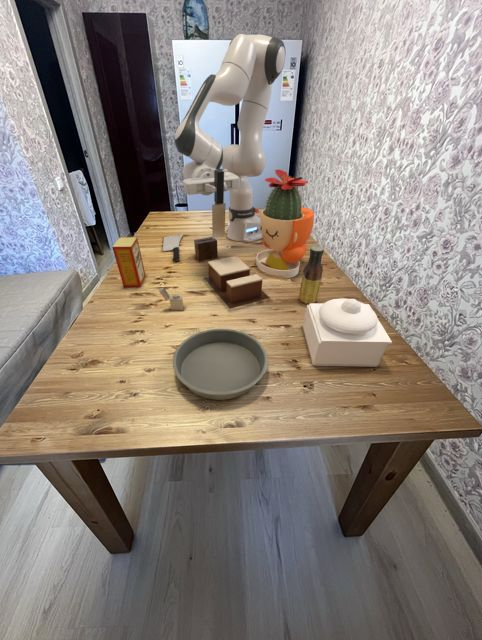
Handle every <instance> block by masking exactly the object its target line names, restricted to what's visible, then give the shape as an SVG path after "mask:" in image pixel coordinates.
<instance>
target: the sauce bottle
mask: <svg viewBox="0 0 482 640" xmlns="http://www.w3.org/2000/svg"><path fill="white" fill-rule="evenodd" d="M324 251H325V248H324V247H323V246H320V245H313V246H311V247H310V249H309V258H308V262H307V263H306V265H305V266H304V268H303V270H302V276H301V281H300V288H299V295H298V300H299V302H300V303H301V304H303V305H309V304H310V303H317V300H318V298H319V297H318V296H319V292H320V287H321V284H322V283H321V282H322V278H323V272H324V267H323V265H322V257H323V255H324Z"/></svg>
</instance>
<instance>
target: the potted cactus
mask: <svg viewBox="0 0 482 640" xmlns="http://www.w3.org/2000/svg"><path fill="white" fill-rule="evenodd" d="M274 173H275V175H276V176H277V177H278V178H279V179H280V180H281V181H280V180H278V179H277V178H276V177H268V178H265V179H264V181H265V182H267V183H269V184H268V187H269V188H271V189H270V192H269V196H268V197H267V199H266V200H265V201H264V202H265V205H264V209H263V210H262V211H261V215H260V219H261V220H260V230H261V233H262V237H263V238H262V239H263V240H262V245H263V246H264V247H265V248H267V249H265V250H261V251H260V252H258V253H257V254H256V257H255V264H256V267H257V268H258V269H259V270H260V271H263V272H264V273H266V274H269V275H272V276H277V277H283V279H292V278H294V277H296V276H297V275H298V274H299V270H300V266H301V265H300V264H301V262H300V261H301V260H302V259H303V258H304V256H305V254H306V252H307V250H308V249H307V248H308V245H307V242H308V240H309V238H310V237H311V235H312V231H313V228H314V223H315V214H314V213H315V212H314V211H313V210H312V209H311V208H307V207H304V205H303V203H304V200H303V198H302V197H301V196H302V193H301V190H299V188H298V187H305V186H306V184H308V183H309V181H307V180H304V177H302V176H299V177H296V178H295V177H294V176H293V177H291V175H288V172H287V171H285V170H283V169H279V168H278V169H275V170H274ZM261 262H262V263H261ZM263 263H264V264H263ZM266 265H267V266H266Z"/></svg>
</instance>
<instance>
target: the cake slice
mask: <svg viewBox="0 0 482 640" xmlns="http://www.w3.org/2000/svg"><path fill="white" fill-rule="evenodd" d="M226 282H227V298H228V300H229V301H230V302H231V303H233V302H237V301H241V300H245V299H249V298H253V297H256V296H260V295H261V292H262V291H263V290H262V288H263V278H262V276H260V275H259V274H257V273H255V274H250V276H246V277H242V278H237V279H233V280H229V281H226Z"/></svg>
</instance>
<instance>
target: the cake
mask: <svg viewBox="0 0 482 640" xmlns="http://www.w3.org/2000/svg"><path fill="white" fill-rule="evenodd" d="M207 270H208V271H207V272H208V276H209V278H210V279H211V281H212V282H213V283H214V284H215V285H216V286H217V287H218V288H219V290H220V291H224V290H227V282H226V281H229V280H233V279H237V278H242V277H246V276H250V275H251V268H250V267H249V266H248V265H247V264H246V263H245V262H243V260H241V259H240V258H238V256H229V257H225V258H220V259H213V260H211V261H210V260H208V261H207Z"/></svg>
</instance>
